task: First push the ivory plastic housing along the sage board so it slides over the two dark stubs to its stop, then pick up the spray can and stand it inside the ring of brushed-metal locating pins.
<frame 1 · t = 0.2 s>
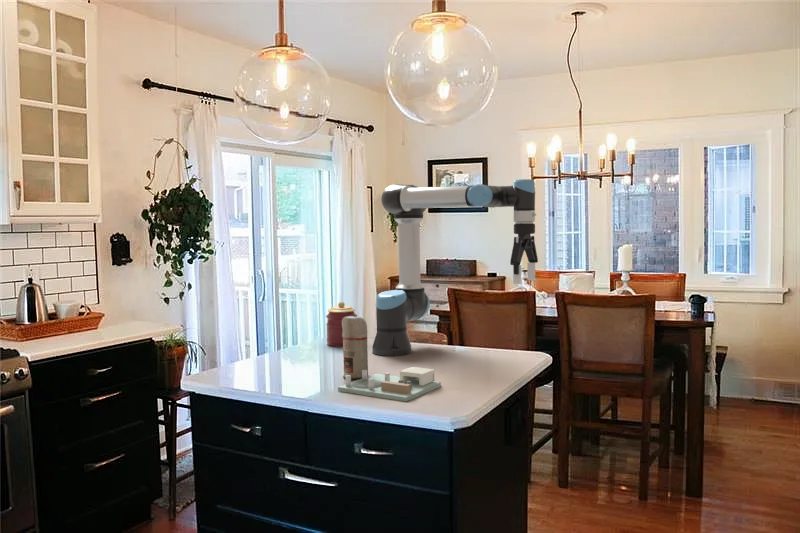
hand: (524, 282, 237), 28 cm above the counter, fingers open, 13 cm apart
spray can: (355, 377, 214), on the counter
housing: (417, 376, 200), point 3 cm above the counter, slide at 0.0 cm
board: (390, 388, 198), on the counter
canister: (342, 344, 273), on the counter
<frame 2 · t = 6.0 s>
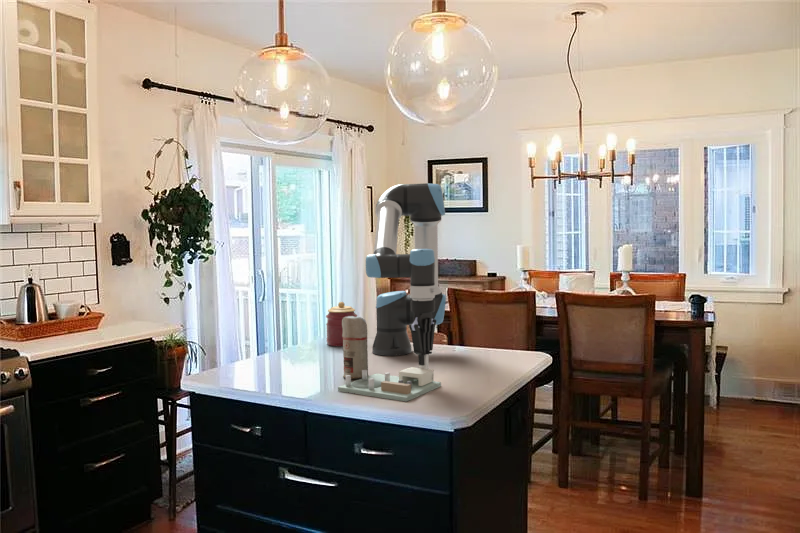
hand: (423, 375, 203), 3 cm above the counter, fingers closed
housing: (416, 376, 199), point 3 cm above the counter, slide at 0.5 cm, touching gripper
everything else where it was.
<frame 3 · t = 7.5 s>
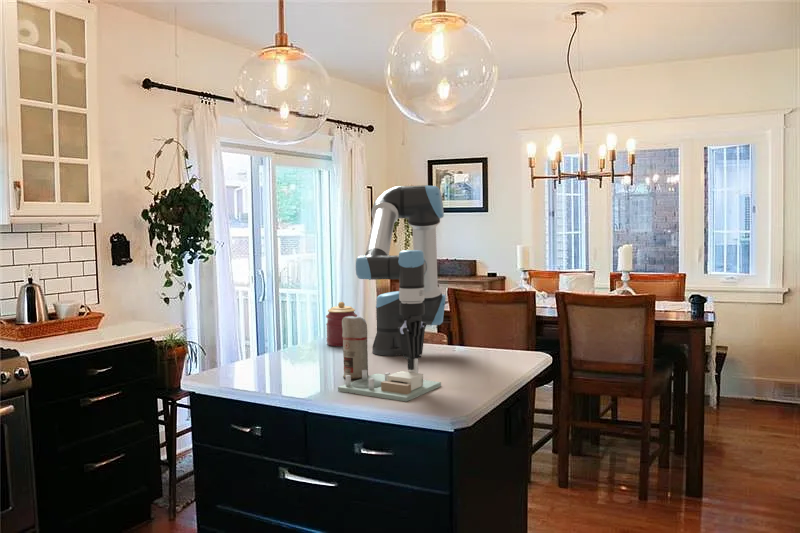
hand: (413, 379, 198), 3 cm above the counter, fingers closed
housing: (405, 380, 194), point 3 cm above the counter, slide at 6.7 cm, touching gripper
everything else where it was.
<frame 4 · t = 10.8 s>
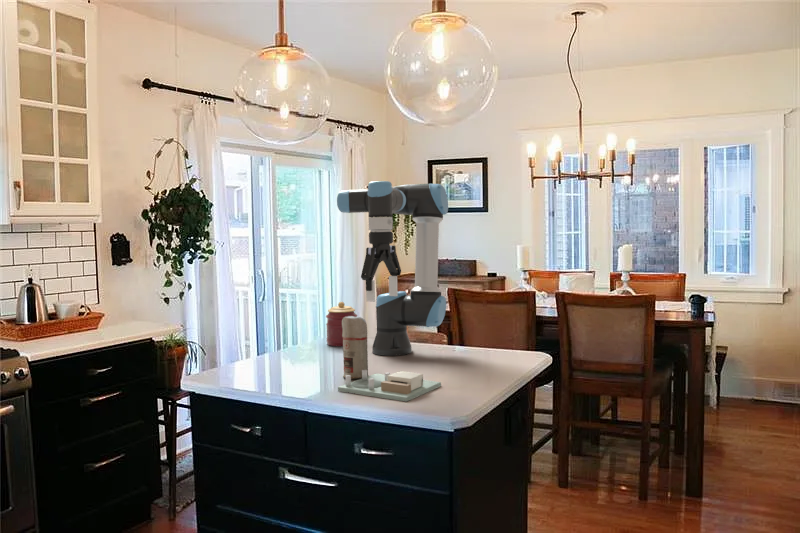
hand: (382, 298, 207), 26 cm above the counter, fingers open, 13 cm apart
housing: (405, 380, 194), point 3 cm above the counter, slide at 6.7 cm
everything else where it was.
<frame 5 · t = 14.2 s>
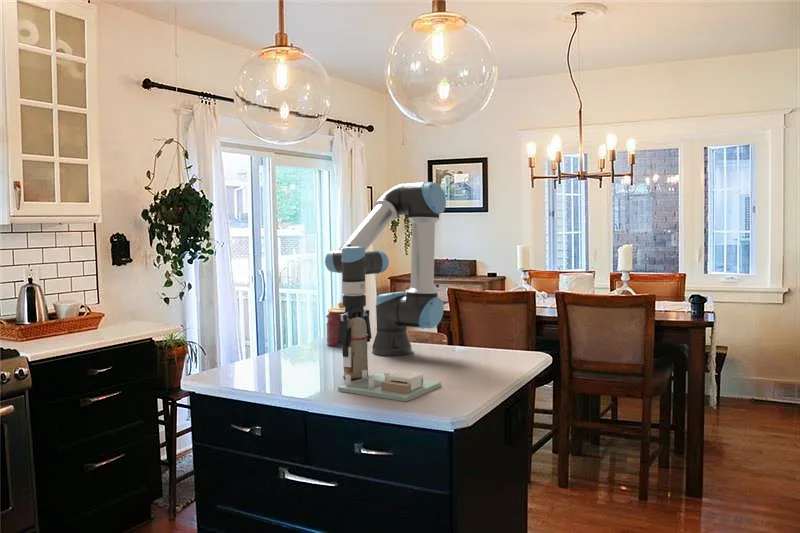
hand: (355, 364, 214), 4 cm above the counter, fingers closed on spray can, 8 cm apart
spray can: (355, 377, 214), on the counter, touching gripper
everything else where it was.
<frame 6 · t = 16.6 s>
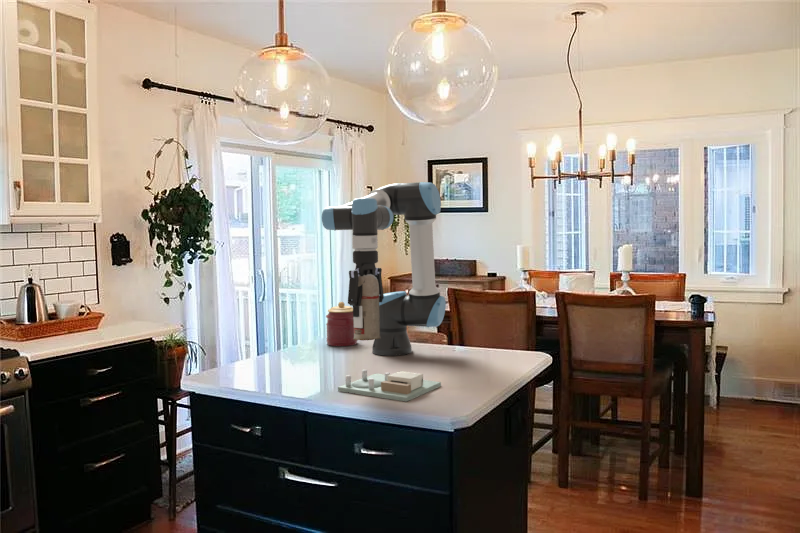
hand: (366, 325, 198), 19 cm above the counter, fingers closed on spray can, 8 cm apart
spray can: (366, 340, 198), point 15 cm above the counter, touching gripper
everything else where it was.
when the fingers open (7 cm above the counter, at t = 19.3 s): spray can drops 1 cm, resting on board.
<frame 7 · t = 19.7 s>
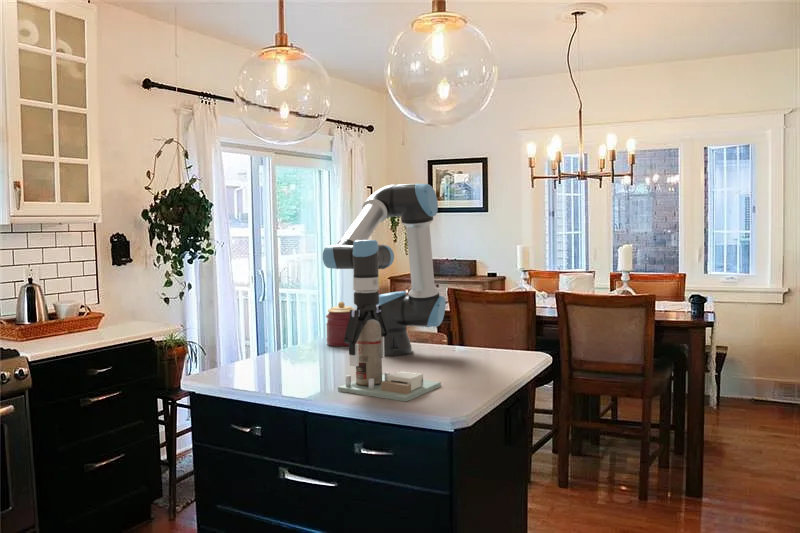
hand: (367, 361, 198), 8 cm above the counter, fingers open, 13 cm apart
spray can: (368, 384, 199), point 1 cm above the counter, touching board
everything else where it was.
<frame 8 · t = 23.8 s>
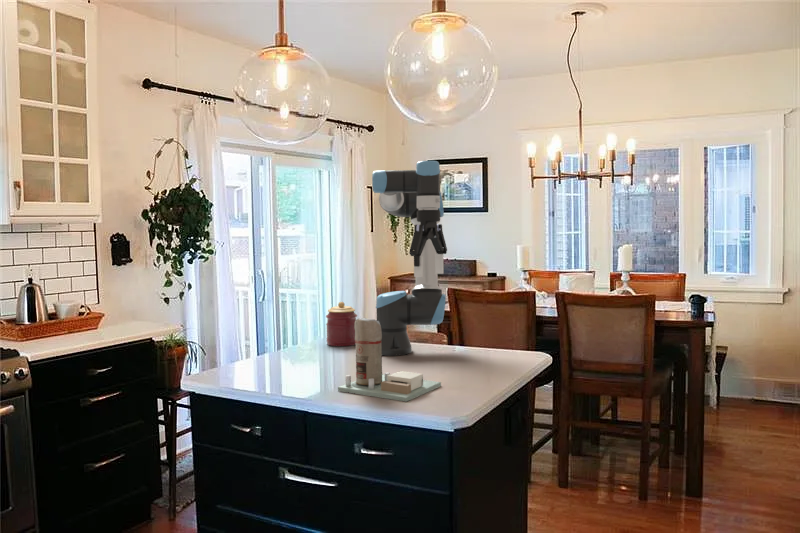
hand: (429, 275, 213), 33 cm above the counter, fingers open, 13 cm apart
nothing on the counter moved.
at the end: housing slide at 6.7 cm; spray can 0.5 cm from the target spot on the board, point 1.1 cm above the board's base; spray can tilted 0° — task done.
